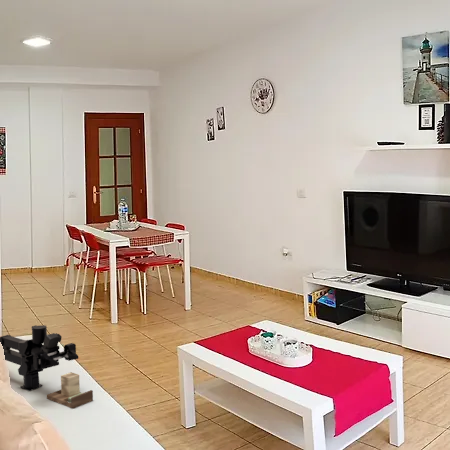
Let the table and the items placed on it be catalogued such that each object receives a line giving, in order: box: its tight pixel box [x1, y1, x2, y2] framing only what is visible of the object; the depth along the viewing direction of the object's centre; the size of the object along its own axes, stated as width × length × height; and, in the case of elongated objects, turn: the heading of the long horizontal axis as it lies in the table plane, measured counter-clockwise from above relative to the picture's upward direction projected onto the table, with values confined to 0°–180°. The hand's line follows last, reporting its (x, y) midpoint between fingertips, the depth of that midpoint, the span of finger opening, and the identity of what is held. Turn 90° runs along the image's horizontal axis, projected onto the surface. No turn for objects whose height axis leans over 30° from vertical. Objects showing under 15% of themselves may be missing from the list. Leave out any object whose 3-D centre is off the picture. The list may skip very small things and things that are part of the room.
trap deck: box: [46, 389, 94, 409], centre depth 228 cm, size 16×10×4 cm, turn 53°
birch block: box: [60, 371, 81, 397], centre depth 230 cm, size 5×5×8 cm
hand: (68, 360), depth 225 cm, fingers open, 9 cm apart
